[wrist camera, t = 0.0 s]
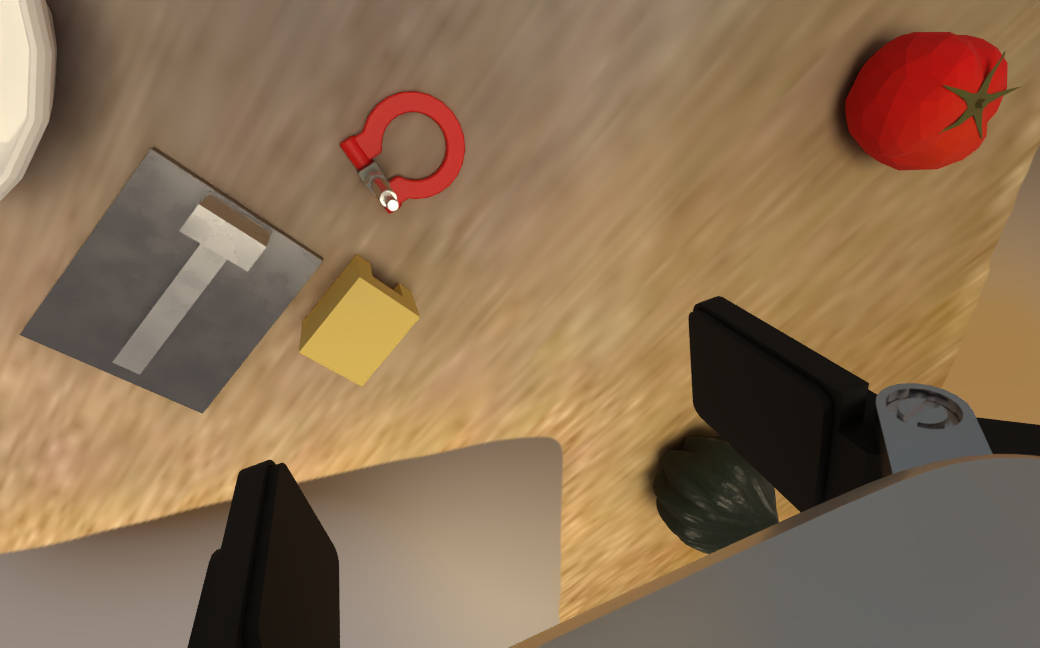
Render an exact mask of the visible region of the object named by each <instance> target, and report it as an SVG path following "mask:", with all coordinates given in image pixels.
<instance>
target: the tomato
mask: <svg viewBox="0 0 1040 648" xmlns="http://www.w3.org/2000/svg"><path fill="white" fill-rule="evenodd" d="M1004 55H1005V52H1004V53H1003V55H1002V54H1001V52H1000V51H999V49H998V48H997V47H995V46H993V45H992V44H990V43H989V42H987V41H985V40H984V39H980V38H976V37H972V36H968V35H955V34H953V33H951V32H913V33H910V34H906V35H902V36H899V37H897V38H895V39H894V40H892V41H890V42H888V43H887V44H885V45H884V46H883V47H882V48H881V49H880V50H878V51H877V52H876V53H875V54H874V55H873V56H872V57H871V58H870V59H869V60H867V62H866V63H865V64H864V66H863V67H862V68H861V70H860V72H859V74H858V76H857V78H856V80H855V82H854V84H853V86H852V88H851V90H850V92H849V94H848V96H847V98H846V100H845V112H846V119H847V125H848V130H849V133H850V134H851V135H852V136H853V138H854V139H855V140H856V141H857V143H858V144H859V145H860V146H861V148H862V149H863V150H864V151H865V152H866V153H867V154H868V155H870V156H871V157H873V158H874V159H876V160H877V161H879V162H880V163H883V164H885V165H888V166H890V167H892V168H895V169H897V170H926V169H939V168H941V167H944V166H947V165H949V164H952V163H955V162H957V161H960V160H963V159H964V158H966V157H967V156H968V155H970V154H971V153H972V152H974V151H975V150H977V149H978V148H979V147H980V145H981V143H982V142H983V140H984V139H985V137H986V133H987V122H988V121H989V120H990V119H991V118H992V116H993V115H994V114H995V113H996V112H997V110H998V107H999V105H1000V103H1001V100H1002V98H1003V96H1004V95H1005V94H1007V93H1009V92H1011V91H1013V90H1015V89H1018V88H1020V87H1017V88H1013V89H1009V90H1006V88H1007V62H1006V60H1005V59H1004ZM1021 87H1022V86H1021Z"/></svg>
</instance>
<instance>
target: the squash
mask: <svg viewBox="0 0 1040 648" xmlns="http://www.w3.org/2000/svg"><path fill="white" fill-rule="evenodd" d="M663 470H664V471H663V472H662V473H660V474H659V475H658V476H657V477H656V478H655V480H654V484H653V487H654V491H655V494H656V496H657V499H656V505H657V509H658V512H659V514H660V516H661V518H662V519H663V521H664V522H665V523H666V525H667V526H668V528H669V529H670V530H671V531H672V532H673V533H674V534H676V535H677V536H678V537H679V538H680V540H681V541H683V542H684V543H685V544H686V545H688V546H690V547H692V548H694V549H696V550H698V551H701V552H703V553H707V554H711V553H713V552H716V551H718V550H720V549H722V548H724V547H727V546H729V545H731V544H733V543H735V542H738V541H740V540H742V539H744V538H746V537H749V536H751V535H753V534H755V533H757V532H759V531H762V530H764V529H766V528H768V527H770V526H773V525H775V524H777V523H779V520H778V514H777V510H776V498H775V490H774V486H773V485H771V484H770V483H769V482H768V481H767V480H766V479H765V478H764V477H763V476H762V475H761V474H760V473H759V472H758V471H757V470H756V469H755V468H754V467H753V466H751V465H750V464H749V463H748V462H747V461H746V460H745V459H744V458H743V457H742V456H741V455H740V454H739V453H738V452H737V451H736V450H735V449H734V448H733V447H731V446H730V445H729V444H728V443H727V442H726V441H725V440H724V439H723V438H722V437H721V436H715V437H703V436H694V437H689V438H687V439H686V440H685V441H684V442H683V444H682V446H681V450H670V451H668V452H667V453H666V454H665V455H664V457H663Z"/></svg>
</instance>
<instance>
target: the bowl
mask: <svg viewBox="0 0 1040 648" xmlns="http://www.w3.org/2000/svg"><path fill="white" fill-rule="evenodd" d="M56 63H57V44H56V37H55V31H54V24H53V17H52V13H51V11H50V9H49V7H48V5H47V3H46V1H45V0H0V201H1V200H2V199H3V198H4V197H5V196H6V195H7V194H8V193H9V192H10V191H11V190H12V189H13V188H14V187H15V186H16V185H17V184H18V182H19V181H20V180H21V179H22V178H23V176H24V174H25V172H26V170H27V168H28V166H29V163H30V161H31V159H32V157H33V155H34V153H35V150H36V148H37V146H38V144H39V142H40V140H41V138H42V135H43V133H44V131H45V129H46V127H47V125H48V123H49V119H50V114H51V110H52V106H53V97H54V93H55V81H56Z"/></svg>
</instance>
